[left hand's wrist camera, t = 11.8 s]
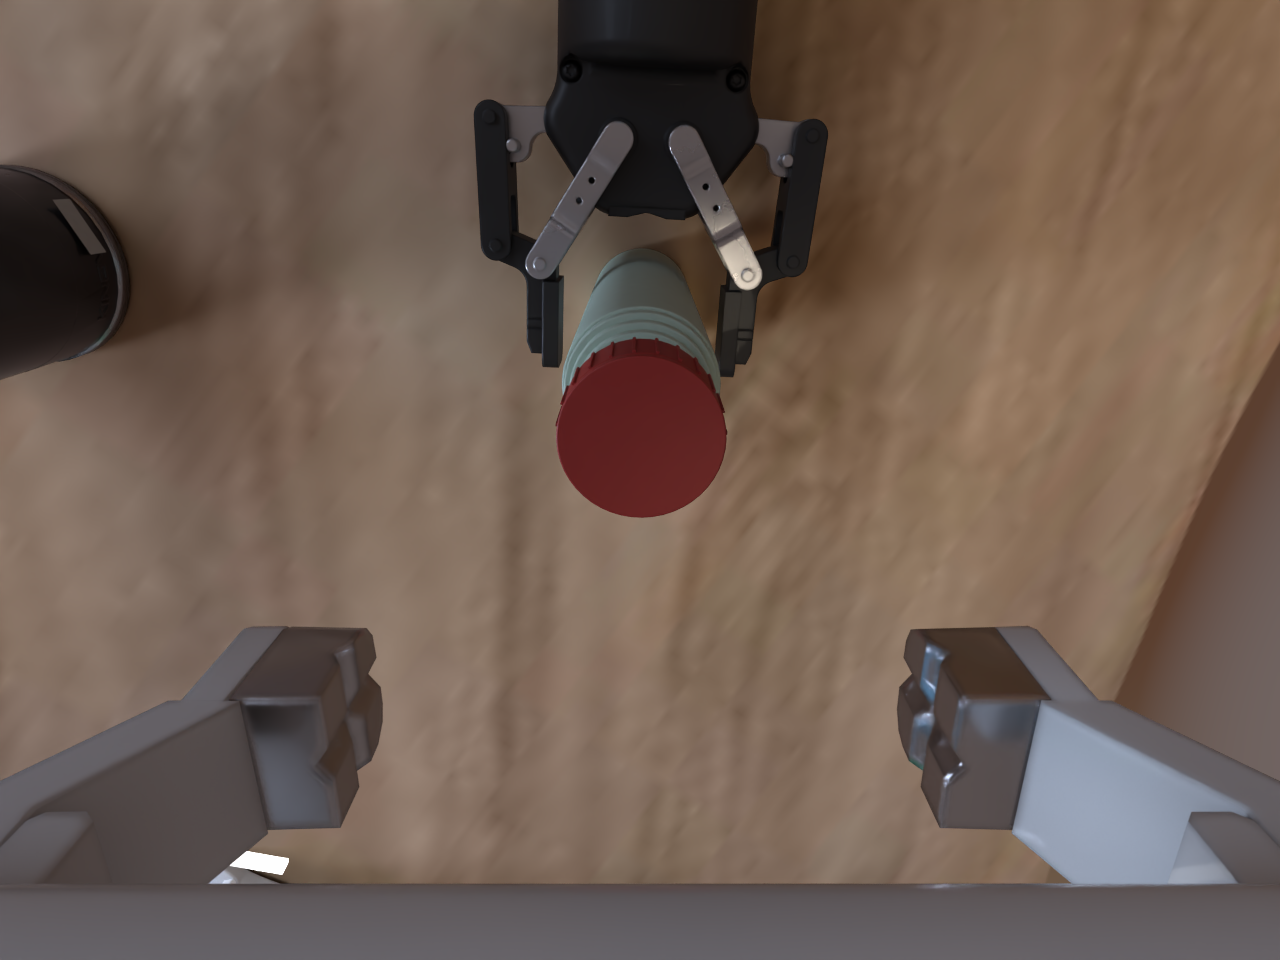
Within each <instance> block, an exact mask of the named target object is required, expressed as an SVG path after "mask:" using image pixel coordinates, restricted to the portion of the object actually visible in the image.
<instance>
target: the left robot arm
mask: <svg viewBox="0 0 1280 960" xmlns="http://www.w3.org/2000/svg"><path fill="white" fill-rule="evenodd" d="M375 659H376V652H375V647H374V641H373V635H372V634H371V633H370V632H369V630H368V629H367V628H336V627H287V626H260V627H249V628H245V629H243V630H242V631H241V633H240V634H239V635H238V636H237V637H236V638H235V639H234V641H233V642H232V643H231V644H230V645H229V646H228V647H227V649H226V650H225V651H224V652H223V653H222V654H221V655H220V657H219V658H218V659H217V660H216V661H215V662H214V663H213V665H212V666H211V667H210V668H209V669H208V670H207V671H206V673H205V674H204V675H203V676H202V677H201V678H200V679H199V681H198V682H197V683H196V684H195V685H194V686H193V688H192V689H191V690H190V691H189V692H188V693H187V694H186V696H185V697H184V698H183V699H182V700H181V701H167V702H164V703H162V704H160V705H158V706H156V707H154V708H152V709H150V710H148V711H146V712H144V713H141V714H139V715H137V716H135V717H133V718H131V719H129V720H127V721H125V722H123V723H121V724H118V725H116V726H114V727H112V728H110V729H108V730H106V731H104V732H102V733H100V734H98V735H95V736H93V737H91V738H89V739H87V740H85V741H83V742H81V743H79V744H77V745H75V746H72V747H70V748H68V749H66V750H64V751H62V752H60V753H58V754H56V755H54V756H52V757H49V758H47V759H45V760H43V761H41V762H39V763H37V764H35V765H33V766H31V767H29V768H26V769H24V770H22V771H20V772H18V773H16V774H14V775H12V776H10V777H8V778H6V779H3V780H1V781H0V960H1280V781H1278V780H1276V779H1274V778H1272V777H1270V776H1268V775H1266V774H1264V773H1261V772H1259V771H1257V770H1255V769H1253V768H1251V767H1249V766H1247V765H1245V764H1243V763H1241V762H1238V761H1236V760H1234V759H1232V758H1230V757H1228V756H1226V755H1224V754H1222V753H1220V752H1218V751H1216V750H1214V749H1211V748H1209V747H1207V746H1205V745H1203V744H1201V743H1199V742H1197V741H1195V740H1193V739H1191V738H1189V737H1186V736H1184V735H1182V734H1180V733H1178V732H1176V731H1174V730H1172V729H1170V728H1168V727H1166V726H1163V725H1161V724H1159V723H1157V722H1155V721H1153V720H1151V719H1149V718H1147V717H1145V716H1143V715H1141V714H1138V713H1136V712H1134V711H1132V710H1130V709H1128V708H1126V707H1124V706H1122V705H1120V704H1118V703H1116V702H1113V701H1099V700H1098V699H1097V698H1096V697H1095V696H1094V694H1093V693H1092V692H1091V691H1090V690H1089V689H1088V688H1087V686H1086V685H1085V684H1084V683H1083V682H1082V681H1081V680H1080V678H1079V677H1078V676H1077V675H1076V674H1075V673H1074V671H1073V670H1072V669H1071V668H1070V667H1069V666H1068V665H1067V663H1066V662H1065V661H1064V660H1063V659H1062V658H1061V657H1060V655H1059V654H1058V653H1057V652H1056V651H1055V650H1054V649H1053V647H1052V646H1051V645H1050V644H1049V643H1048V642H1047V641H1046V639H1045V638H1044V637H1043V636H1042V635H1041V634H1040V633H1039V631H1038V630H1037V629H1034V628H1032V627H1030V626H1008V627H981V628H941V629H912V630H910V632H909V635H908V637H907V640H906V645H905V652H904V659H905V661H906V663H907V665H908V667H909V669H910V671H911V673H912V674H911V675H910V676H909V677H908V679H907V680H906V681H905V682H904V683H903V684H902V685H901V686H900V687H899V696H898V705H897V716H898V729H899V734H900V738H901V742H902V746H903V748H904V751H905V753H906V755H907V758H908V760H909V761H910V762H911V763H913V764H914V765H916V766H917V767H918V768H920V769H921V770H923V775H922V781H921V789H922V791H923V793H924V795H925V797H926V799H927V801H928V804H929V806H930V808H931V810H932V812H933V814H934V817H935V819H936V821H937V823H938V825H939V827H940V828H964V829H1001V830H1012V834H1014V835H1015V836H1016V837H1017V838H1018V839H1020V840H1021V841H1022V842H1023V843H1024V844H1025V845H1027V846H1028V847H1029V848H1030V849H1031V850H1033V851H1034V852H1035V853H1036V854H1037V855H1039V856H1040V857H1041V858H1042V859H1043V860H1045V861H1046V862H1047V863H1048V864H1049V865H1050V866H1052V867H1053V868H1054V869H1055V870H1056V871H1058V872H1059V873H1060V874H1061V875H1062V876H1064V877H1065V878H1066V879H1067V880H1068V881H1070V882H1071V883H1072V884H280V883H277V882H275V881H272V880H269V879H267V878H264V877H262V876H259V875H257V874H255V873H253V872H251V871H249V870H247V869H253V870H258V871H264V872H270V873H276V874H283V872H284V870H285V868H286V866H287V864H288V861H289V859H288V858H282V857H276V856H270V855H265V854H259V853H253V852H248V850H249V849H250V848H251V847H253V846H254V845H255V844H256V843H257V842H258V841H260V840H261V839H262V838H263V837H264V836H266V835H267V834H268V831H267V830H279V829H314V828H341V825H342V823H343V821H344V819H345V817H346V815H347V812H348V810H349V808H350V806H351V804H352V802H353V799H354V797H355V795H356V793H357V791H358V789H359V781H358V774H357V770H359V769H360V768H362V767H363V766H364V765H366V764H367V763H369V762H370V761H371V760H372V758H373V755H374V753H375V751H376V748H377V746H378V743H379V738H380V732H381V727H382V722H383V702H382V694H381V687H380V686H379V685H378V684H377V683H376V682H375V681H374V680H373V679H372V677H371V676H370V675H369V674H368V673H369V671H370V669H371V667H372V665H373V663H374V661H375ZM246 868H247V869H246Z"/></svg>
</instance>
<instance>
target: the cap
mask: <svg viewBox="0 0 1280 960" xmlns="http://www.w3.org/2000/svg"><path fill="white" fill-rule="evenodd" d="M560 404H561V405H562V406H561V409H560V412H559V415H558V418H557V421H556V426H557V430H556V443H557V451H558V455H559V459H560V462H561V464H562V467H563V469H564V471H565V473H566V475H567V477H568V478H569V480H570V481H571V483H572V484H573V485H574V487H575V488H576V489H577V490H578V491H579V492H580V493H581V494H582V495H583V496H584V497H585V498H587V499H588V500H589V501H591V502H592V503H594V504H595V505H597V506H599V507H600V508H602V509H605V510H607V511H609V512H612V513H615V514H619V515H623V516H628V517H641V518H643V517H655V516H660V515H664V514H667V513H671V512H674V511H676V510H678V509H680V508H682V507H684V506H686V505H687V504H689V503H691V502H692V501H693V500H695V499H696V498H697V497H698V496H700V495H701V494H702V493H703V492H704V491H705V490H706V489H707V487H708V486H709V485H710V484H711V482H712V481H713V479H714V478H715V476H716V474H717V472H718V471H719V469H720V466H721V463H722V461H723V457H724V453H725V449H726V435H727V430H726V425H725V420H724V416H723V413H725V411H724V408H723V405H722V402H721V399H720V396H719V393H716V389H715V386H714V383H713V380H712V377H711V375H710V373H709V374H707V373H706V371H705V370H704V368H703V367H702V366H701V365H700V364H699V362H698V359H697V358H696V357H695V358H693V357H692V356H690V355H689V354H688V353H686V352H685V351H683V350H682V349H680V346H679V345H676V346H674V345H672V344H669V343H666V342H663V341H659V339H658V338H655V340H653V339H636V337H633V339H629V340H624V341H620V342H617V343H614V341H613V342H611V345H609V346H607V347H605V348H603V349H601V350H599V351H598V352H596V353H595V352H593V353H591V357H590V358H589V359H588V360H586V361H585V362H584V363H583V365H582V366H581V367H580V368H579V367H577V368H576V371H575V374H574V377H573V379H572V381H571V383H570V385H569V386H568V385H567V386H566V389H565V392H564V395H563V397H562V400H561V403H560Z"/></svg>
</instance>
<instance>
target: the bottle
mask: <svg viewBox="0 0 1280 960" xmlns="http://www.w3.org/2000/svg"><path fill="white" fill-rule="evenodd" d="M633 337H636V339H653V340H655V338H658V339H659V341H663V342H666V343H669V344H672V345H674V346H676V345H679V346H680V349H682V350H683V351H685V352H686V353H688V354H689V355H690V356H692V357H693V358H695V357H696V358H697V359H698V362H699V364H700V365H701V366H702V367H703V368H704V370H705V371H706V373H707V374H709V373H710V375H711V377H712V380H713V383H714V386H715V389H716V393H719V395H720V385H721V384H720V371H719V366H718V362H717V359H716V356H715V353H714V351H713V348H712V346H711V343H710V341H709V338H708V336H707V333H706V331H705V328H704V325H703V323H702V320H701V318H700V315H699V313H698V310H697V308H696V305H695V303H694V300H693V298H692V295H691V293H690V290H689V288H688V285H687V283H686V280H685V278H684V276H683V273H682V272H681V270H680V269H679V267H678V266H677V265H676V264H675V262H674V261H672V260H671V259H670V258H669V257H667V256H666V255H664V254H662V253H660V252H658V251H655V250H651V249H643V248H639V249H632V250H628V251H625V252H622V253H620V254H618V255H617V256H615V257H614V258H612V259H611V260H610V261H609V262H608V263H607V264H606V265H605V267H604V268H603V269H602V271H601V273H600V275H599V277H598V279H597V281H596V284H595V287H594V289H593V292H592V294H591V297H590V299H589V302H588V304H587V307H586V309H585V312H584V314H583V317H582V319H581V322H580V324H579V327H578V330H577V332H576V335H575V337H574V340H573V342H572V345H571V347H570V350H569V352H568V355H567V358H566V361H565V364H564V369H563V375H562V390H563V395H564V392H565V389H566V386H567V385H568V386H569V385H570V383H571V381H572V379H573V377H574V374H575V371H576V368H577V367H579V368H580V367H581V366H582V365H583V363H584V362H585V361H586V360H588V359H589V358H590V357H591V353H593V352H595V353H596V352H598V351H599V350H601V349H603V348H605V347H607V346H609V345H611V342H613V341H614V343H617V342H620V341H624V340H629V339H633Z"/></svg>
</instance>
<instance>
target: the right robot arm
mask: <svg viewBox="0 0 1280 960" xmlns="http://www.w3.org/2000/svg"><path fill="white" fill-rule="evenodd" d="M757 1H758V0H558V69H557V79H556V83H555V87H554V90H553V92H552V94H551V96H550V98H549V100H548V102H547V104H546V106H505V105H502V104H500V103H498V102H496V101H494V100H483V101H481V102H480V103H479V104H478V105H477V106H476V108H475V111H474V128H475V146H476V164H477V181H478V199H479V217H480V235H481V248H482V251H483V253H484V254H485V255H486V256H487V257H488V258H489V259H491V260H496V261H498V260H499V261H501V262H503V263H506V264H508V265H511V266H513V267H515V268H517V269H518V270H520V271H521V272H522V274H523V275H524V277H525V279H526V282H527V343H528V345H529V348H530V350H531V353H542V366H543V367H556V368H559V366H560V363H561V361H562V352H563V295H564V276H560V275H559V264H560V262H561V261H562V259H563V257H564V256H565V254H566V253H567V251H568V250H569V248H570V246H571V245H572V243H573V242H574V240H575V239H576V237H577V235H578V234H579V232H580V231H581V229H582V228H583V226H584V225H585V223H586V222H587V220H588V218H589V217H590V215H591V214H592V212H593V211H594V209H595V207H596V208H597V209H599V210H600V211H602V212H604V213H606V214H608V216H619V217H629V216H634V215H638V214H643V213H650V214H653V215H656V216H659V217H662V218H665V219H674V220H685V218H689V217H691V216H694V215H696V214H698V215H699V217H700V219H701V221H702V223H703V225H704V227H705V229H706V231H707V233H708V235H709V237H710V239H711V240H712V242H713V244H714V246H715V248H716V250H717V252H718V255H719V257H720V259H721V261H722V263H723V265H724V267H725V269H726V271H727V278H726V285H721V288H720V300H719V311H718V323H717V334H716V346H715V356H716V359H717V362H718V366H719V371H720V377H733V376H734V371H735V364H744V365H745V364H746V363H747V361H748V359H749V357H750V355H751V351H752V339H753V330H754V322H755V312H756V302H757V296H758V293H759V291H760V289H761V288H762V287H763V286H764V285H765V284H767V283H769V282H771V281H775V280H778V279H781V278H784V277H796V276H799V275H800V274H802V273H803V272H804V270H805V269H806V267H807V263H808V257H809V251H810V245H811V238H812V232H813V226H814V220H815V213H816V207H817V201H818V195H819V189H820V182H821V176H822V170H823V164H824V158H825V151H826V145H827V139H828V131H827V128H826V126H825V124H824V123H823V122H822V121H820V120H817V119H807V120H803V121H800V122H792V121H782V120H771V119H761V118H758V116H757V113H756V111H755V108H754V106H753V103H752V99H751V93H750V77H751V66H752V56H753V45H754V34H755V23H756V12H757ZM545 132H546V133H547V135H548V137H549V138H550V140H551V142H552V143H553V145H554V146H555V148H556V149H557V151H558V153H559V154H560V156H561V157H562V159H563V161H564V162H565V164H566V165H567V167H568V168H569V170H570V172H571V173H572V175H573V176H574V179H573V181H572V183H571V184H570V186H569V188H568V189H567V191H566V192H565V194H564V196H563V197H562V199H561V201H560V202H559V204H558V205H557V207H556V209H555V210H554V212H553V214H552V215H551V217H550V220H549V221H548V223H547V225H546V226H545V228H544V230H543V231H542V233H541V234H540V236H539V238H538V239H537V240H535V239H533V238H530V237H528V236H526V235H524V234H521V233H519V225H518V200H517V174H516V162H523V161H525V160H527V159H528V158H529V156H530V155H531V152H532V146H533V142H534V140H535V138H536V137H537V136H538V135H540V134H541V133H545ZM755 144H756V145H759V146H760V147H761V148H762V149H763V150H764V151H765V154H766V161H767V168H768V170H769V171H770V173H771V174H773V175H774V176H778V177H781V179H780V186H779V192H778V199H777V206H776V213H775V220H774V227H773V234H772V241H771V247H767V248H764V249H761V250H758V251H755V252H753V250H752V248H751V246H750V244H749V242H748V240H747V238H746V236H745V234H744V231H743V229H742V226H741V223H740V221H739V219H738V217H737V215H736V213H735V210H734V208H733V206H732V204H731V202H730V200H729V198H728V196H727V194H726V192H725V189H724V187H723V184H724V183H725V182H726V181H727V179H728V178H729V177H730V176H731V174H732V173H733V172H734V171H735V169H736V168H737V167H738V165H739V164H740V163H741V162H742V160H743V159H744V158H745V157H746V155H747V154H748V153H749V152H750V150H751V149H752V148H753V146H754V145H755ZM129 292H130V284H129V274H128V268H127V264H126V260H125V257H124V254H123V251H122V248H121V246H120V244H119V242H118V240H117V238H116V236H115V234H114V232H113V230H112V229H111V227H110V226H109V224H108V223H107V221H106V220H105V219H104V217H103V216H102V215H101V214H100V212H99V211H98V210H97V209H96V208H95V207H94V206H93V205H92V204H91V203H90V202H89V201H88V200H87V199H86V198H85V197H84V196H83V195H81V194H80V193H79V192H78V191H76V190H75V189H74V188H72V187H71V186H69V185H68V184H66V183H65V182H63V181H61V180H59V179H58V178H56V177H54V176H52V175H49V174H47V173H44V172H42V171H39V170H36V169H32V168H28V167H23V166H16V165H0V380H2V379H5V378H8V377H11V376H14V375H17V374H20V373H23V372H27V371H30V370H33V369H36V368H39V367H42V366H45V365H48V364H51V363H54V362H59V361H65V360H70V359H73V358H76V357H79V356H82V355H85V354H88V353H90V352H92V351H94V350H96V349H98V348H99V347H101V346H102V345H103V344H105V343H106V342H107V341H108V340H109V339H110V338H111V337H112V336H113V335H114V334H115V332H116V331H117V330H118V328H119V326H120V325H121V323H122V321H123V319H124V316H125V314H126V310H127V307H128V301H129Z"/></svg>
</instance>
